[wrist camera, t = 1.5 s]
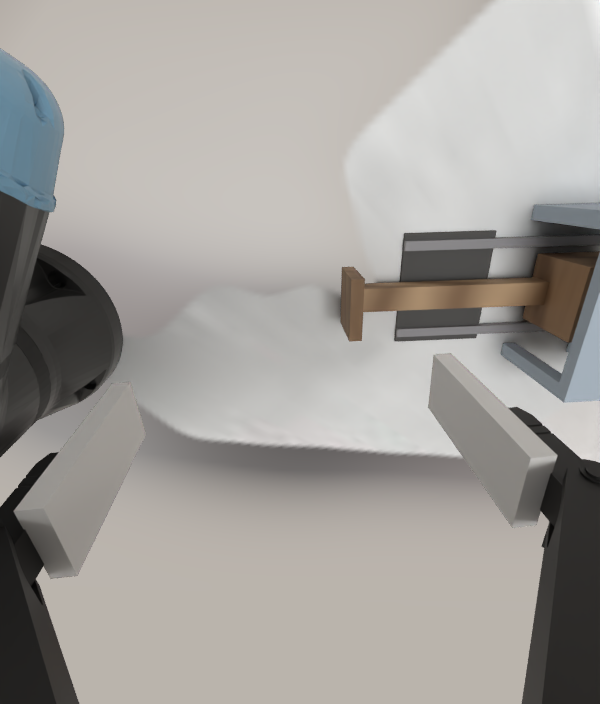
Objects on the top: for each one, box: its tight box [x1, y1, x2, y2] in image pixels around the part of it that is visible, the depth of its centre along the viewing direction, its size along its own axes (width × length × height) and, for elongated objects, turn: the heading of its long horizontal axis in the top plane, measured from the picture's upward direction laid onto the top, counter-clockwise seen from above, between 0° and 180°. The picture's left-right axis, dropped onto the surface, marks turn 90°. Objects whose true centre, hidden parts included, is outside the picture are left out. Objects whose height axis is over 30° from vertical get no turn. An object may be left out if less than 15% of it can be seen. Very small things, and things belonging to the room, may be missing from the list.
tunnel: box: [396, 203, 600, 402], centre depth 30 cm, size 28×14×9 cm, turn 91°
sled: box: [341, 251, 600, 343], centre depth 31 cm, size 24×6×6 cm, turn 91°
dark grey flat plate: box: [395, 231, 496, 341], centre depth 34 cm, size 8×10×1 cm
